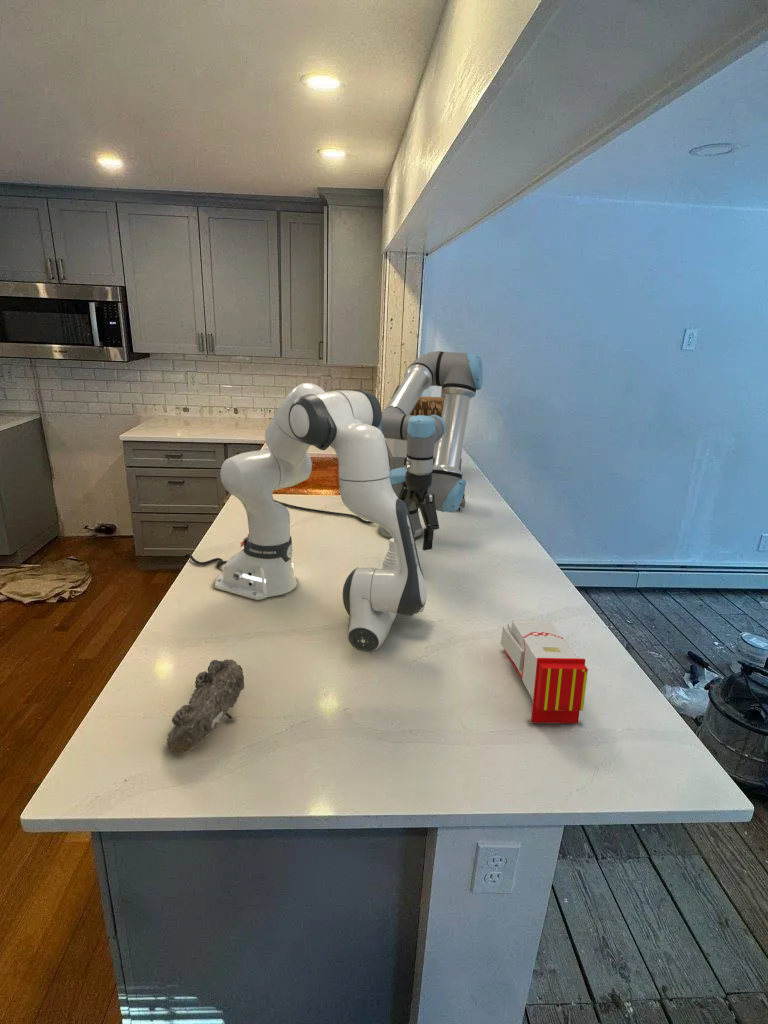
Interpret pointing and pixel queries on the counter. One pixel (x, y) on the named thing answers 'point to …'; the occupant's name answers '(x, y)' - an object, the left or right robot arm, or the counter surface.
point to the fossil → (206, 705)
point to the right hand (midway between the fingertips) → (415, 540)
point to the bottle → (391, 557)
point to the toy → (547, 670)
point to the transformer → (399, 447)
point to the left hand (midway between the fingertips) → (392, 582)
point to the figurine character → (462, 503)
